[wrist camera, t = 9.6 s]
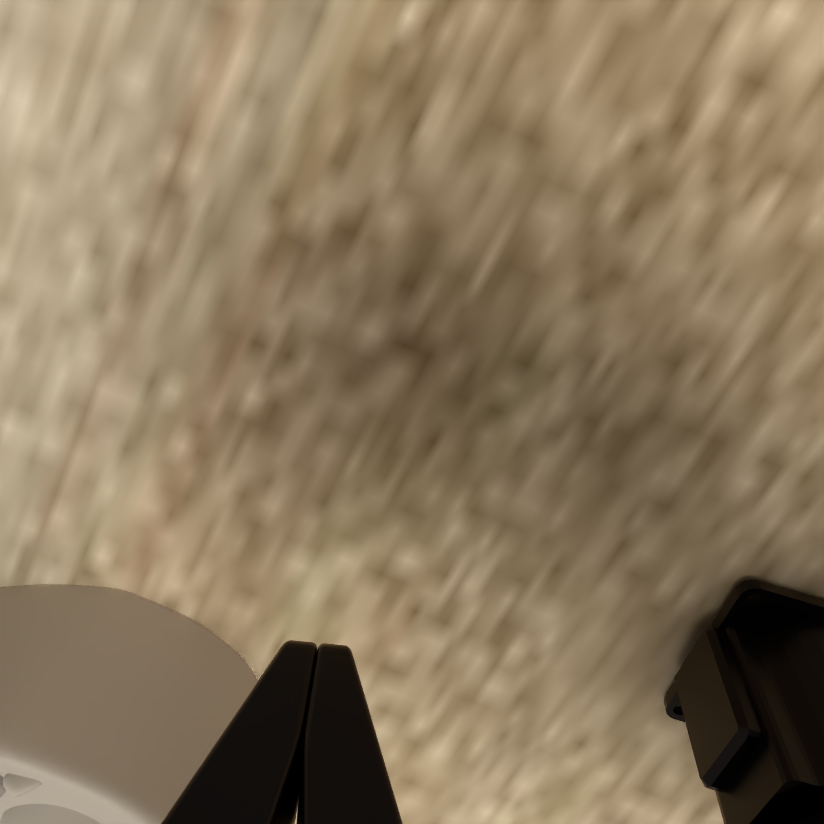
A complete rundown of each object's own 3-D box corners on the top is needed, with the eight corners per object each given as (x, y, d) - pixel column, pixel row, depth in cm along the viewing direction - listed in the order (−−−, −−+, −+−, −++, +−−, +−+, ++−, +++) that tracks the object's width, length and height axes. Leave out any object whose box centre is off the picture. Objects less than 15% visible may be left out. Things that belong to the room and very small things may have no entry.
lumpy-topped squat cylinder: (-68, 582, 28) (-290, 778, 20) (231, 585, 26) (110, 806, 18) (22, 753, 32) (-131, 966, 25) (282, 768, 30) (203, 1007, 23)
